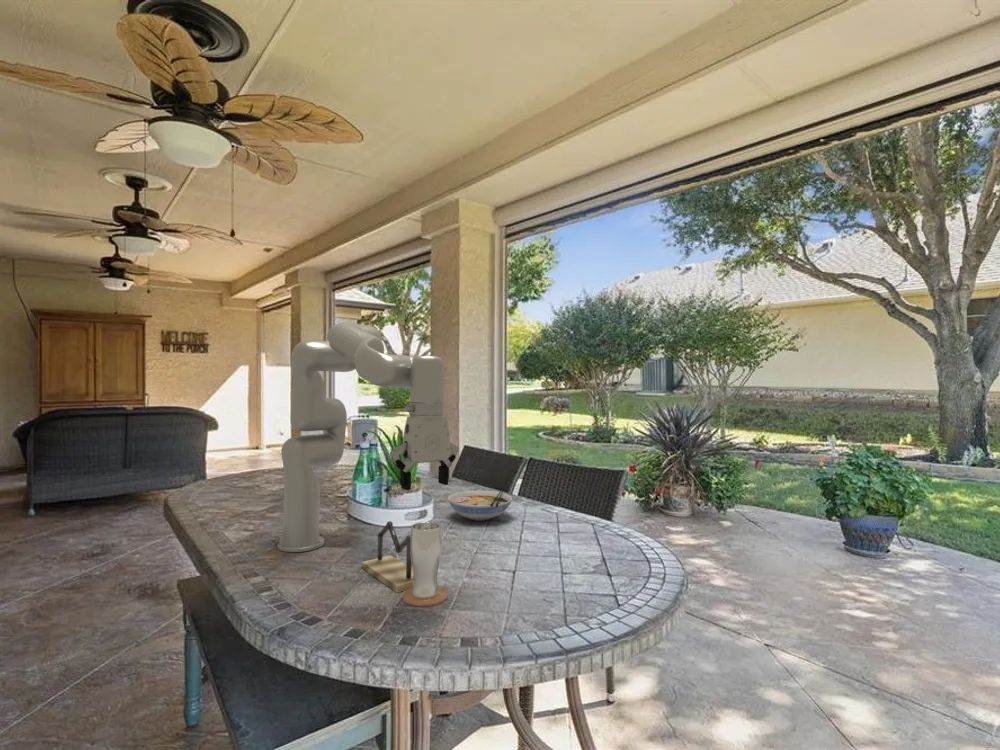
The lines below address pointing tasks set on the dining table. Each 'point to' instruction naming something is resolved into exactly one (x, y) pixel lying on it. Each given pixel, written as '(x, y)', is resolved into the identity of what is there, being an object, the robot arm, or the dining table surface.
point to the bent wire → (398, 546)
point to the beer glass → (425, 558)
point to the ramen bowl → (479, 504)
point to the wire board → (389, 572)
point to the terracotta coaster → (425, 602)
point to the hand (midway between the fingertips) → (425, 486)
